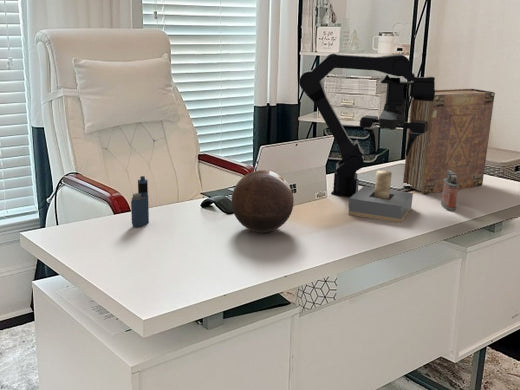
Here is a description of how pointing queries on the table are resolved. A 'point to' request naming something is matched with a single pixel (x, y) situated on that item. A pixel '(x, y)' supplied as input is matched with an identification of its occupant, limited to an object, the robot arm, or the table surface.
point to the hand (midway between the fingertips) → (391, 153)
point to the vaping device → (140, 204)
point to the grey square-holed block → (380, 205)
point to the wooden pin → (382, 184)
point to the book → (450, 139)
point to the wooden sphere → (262, 201)
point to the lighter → (450, 192)
